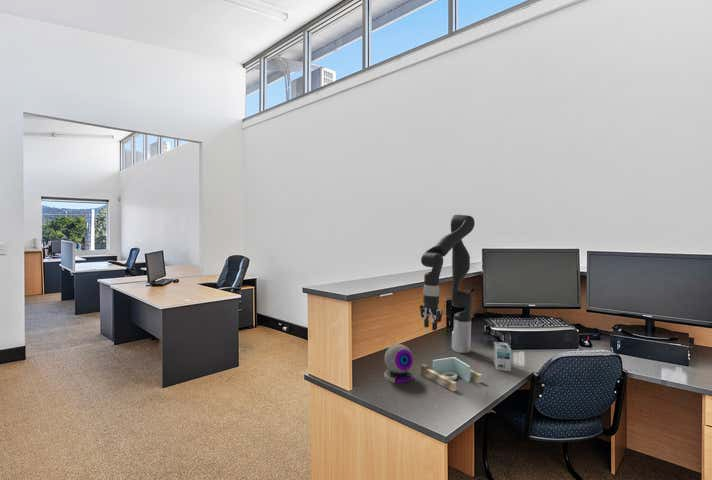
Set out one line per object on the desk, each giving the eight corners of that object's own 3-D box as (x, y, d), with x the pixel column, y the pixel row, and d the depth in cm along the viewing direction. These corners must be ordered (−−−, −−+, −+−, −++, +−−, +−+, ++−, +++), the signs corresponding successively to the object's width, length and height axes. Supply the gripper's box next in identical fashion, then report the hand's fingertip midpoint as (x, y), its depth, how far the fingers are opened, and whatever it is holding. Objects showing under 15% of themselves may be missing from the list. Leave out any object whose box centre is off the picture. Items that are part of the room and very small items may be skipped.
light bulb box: (511, 371, 178) (511, 349, 178) (496, 370, 180) (497, 348, 179) (506, 363, 189) (507, 342, 188) (492, 362, 190) (493, 341, 189)
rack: (420, 374, 174) (420, 364, 173) (449, 366, 183) (449, 357, 183) (452, 391, 157) (452, 381, 156) (482, 382, 166) (482, 372, 166)
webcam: (392, 385, 162) (393, 351, 161) (379, 373, 174) (379, 342, 173) (418, 380, 167) (418, 347, 166) (403, 369, 179) (403, 339, 178)
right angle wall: (432, 375, 174) (432, 360, 173) (454, 372, 178) (454, 356, 178) (447, 386, 162) (447, 370, 162) (470, 382, 167) (470, 366, 166)
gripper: (415, 292, 184) (414, 326, 185) (436, 297, 172) (435, 333, 173) (426, 290, 188) (426, 323, 189) (447, 295, 176) (446, 331, 177)
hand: (430, 328), depth 181 cm, fingers open, 5 cm apart
